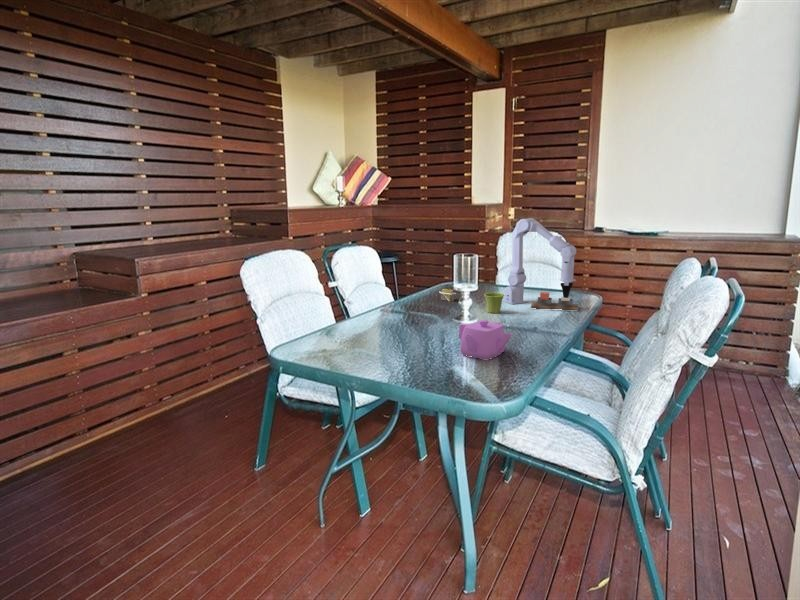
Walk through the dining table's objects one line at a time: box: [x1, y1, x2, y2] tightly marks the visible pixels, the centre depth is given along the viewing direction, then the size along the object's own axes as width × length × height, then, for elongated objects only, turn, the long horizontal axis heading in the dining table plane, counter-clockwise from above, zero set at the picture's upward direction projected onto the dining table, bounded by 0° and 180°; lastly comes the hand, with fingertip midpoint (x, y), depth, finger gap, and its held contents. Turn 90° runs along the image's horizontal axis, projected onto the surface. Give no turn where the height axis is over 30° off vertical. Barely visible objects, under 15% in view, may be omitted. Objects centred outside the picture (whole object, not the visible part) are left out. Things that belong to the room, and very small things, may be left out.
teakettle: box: [458, 319, 513, 359], centre depth 181 cm, size 17×17×12 cm
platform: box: [438, 288, 457, 302], centre depth 270 cm, size 12×18×7 cm, turn 53°
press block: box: [530, 296, 579, 311], centre depth 251 cm, size 22×11×4 cm, turn 71°
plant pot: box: [484, 292, 505, 314], centre depth 243 cm, size 9×9×9 cm
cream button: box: [560, 295, 571, 301], centre depth 249 cm, size 4×4×3 cm
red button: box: [539, 291, 550, 300], centre depth 252 cm, size 4×4×3 cm
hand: (565, 297), depth 249 cm, fingers closed, pressing on cream button
